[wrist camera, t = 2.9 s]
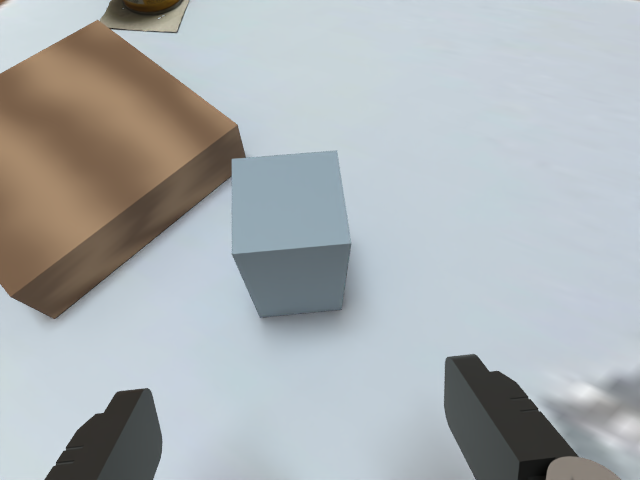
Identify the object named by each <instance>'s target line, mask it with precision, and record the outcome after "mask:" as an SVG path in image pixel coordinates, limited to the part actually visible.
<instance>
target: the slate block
mask: <svg viewBox="0 0 640 480" xmlns="http://www.w3.org/2000/svg"><path fill="white" fill-rule="evenodd" d="M350 248H351V239H350V233H349V226H348V220H347V213H346V207H345V200H344V194H343V187H342V180H341V174H340V167H339V161H338V154H337V151H325V152H312V153H300V154H287V155H274V156H262V157H249V158H237V159H232V255H233V258H234V260H235V262H236V265H237V267H238V269H239V271H240V274H241V276H242V278H243V280H244V283H245V285H246V287H247V289H248V292H249V294H250V296H251V298H252V301H253V303H254V305H255V307H256V310H257V312H258V314H259V316H260V318H261V317H272V316H282V315H292V314H302V313H312V312H322V311H333V310H341V308H342V302H343V295H344V288H345V281H346V275H347V268H348V261H349V254H350Z"/></svg>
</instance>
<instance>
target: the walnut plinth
mask: <svg viewBox="0 0 640 480" xmlns="http://www.w3.org/2000/svg"><path fill="white" fill-rule="evenodd" d="M237 158H246V156H245V152H244V148H243V145H242V141H241V137H240V133H239V129H238V125H237V124H236V123H235V122H233V121H232V120H231V119H229V118H228V117H227V116H225V115H224V114H223V113H221V112H220V111H219V110H217V109H216V108H215V107H213V106H212V105H211V104H209V103H208V102H207V101H205V100H204V99H203V98H201V97H200V96H199V95H197V94H196V93H195V92H193V91H192V90H191V89H189V88H188V87H187V86H185V85H184V84H183V83H181V82H180V81H179V80H177V79H176V78H175V77H173V76H172V75H171V74H169V73H168V72H167V71H165V70H164V69H163V68H161V67H160V66H159V65H157V64H156V63H155V62H153V61H152V60H151V59H149V58H148V57H147V56H145V55H144V54H143V53H141V52H140V51H139V50H137V49H136V48H135V47H133V46H132V45H131V44H129V43H128V42H127V41H125V40H124V39H123V38H121V37H120V36H119V35H117V34H116V33H115V32H113V31H112V30H111V29H109V28H108V27H107V26H105V25H104V24H103V23H101V22H100V21H99V20H96V21H95V22H93V23H91V24H89V25H87V26H86V27H84V28H82V29H80V30H78V31H77V32H75V33H73V34H71V35H69V36H68V37H66V38H64V39H62V40H60V41H59V42H57V43H55V44H53V45H51V46H49V47H48V48H46V49H44V50H42V51H40V52H39V53H37V54H35V55H33V56H31V57H30V58H28V59H26V60H24V61H22V62H21V63H19V64H17V65H15V66H13V67H11V68H10V69H8V70H6V71H4V72H2V73H1V74H0V284H1V285H2V287H3V288H4V289H5V291H6V292H7V293H8V294H9V296H10V297H12V298H14V299H16V300H18V301H20V302H22V303H24V304H26V305H28V306H30V307H32V308H34V309H36V310H38V311H40V312H42V313H44V314H46V315H48V316H50V317H52V318H54V319H55V318H56V317H58V316H59V315H60V314H61V313H63V312H64V311H65V310H66V309H68V308H69V307H70V306H71V305H72V304H74V303H75V302H76V301H77V300H79V299H80V298H81V297H82V296H84V295H85V294H86V293H87V292H89V291H90V290H91V289H92V288H93V287H95V286H96V285H97V284H98V283H100V282H101V281H102V280H103V279H105V278H106V277H107V276H108V275H110V274H111V273H112V272H113V271H114V270H116V269H117V268H118V267H119V266H121V265H122V264H123V263H124V262H126V261H127V260H128V259H129V258H131V257H132V256H133V255H134V254H135V253H137V252H138V251H139V250H140V249H142V248H143V247H144V246H145V245H147V244H148V243H149V242H150V241H152V240H153V239H154V238H155V237H156V236H158V235H159V234H160V233H161V232H163V231H164V230H165V229H166V228H168V227H169V226H170V225H171V224H173V223H174V222H175V221H176V220H177V219H179V218H180V217H181V216H182V215H184V214H185V213H186V212H187V211H189V210H190V209H191V208H192V207H193V206H195V205H196V204H197V203H198V202H200V201H201V200H202V199H203V198H205V197H206V196H207V195H208V194H210V193H211V192H212V191H213V190H214V189H216V188H217V187H218V186H219V185H221V184H222V183H223V182H224V181H226V180H227V179H228V178H229V177H231V176H232V159H237Z"/></svg>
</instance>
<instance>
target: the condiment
mask: <svg viewBox="0 0 640 480" xmlns="http://www.w3.org/2000/svg"><path fill="white" fill-rule="evenodd" d="M188 2H189V0H112V1H110V3H109V6H108V8H107V10H106V12H105V14H104V15H103V16H102V18H101V19H100V22H101V23H103V24H104V25H105V26H107V27H108V28H118V29H127V30H142V31H160V32H164V31H168V32H177V30H178V26H179V24H180V22H181V18H182V16H183V14H184V11H185V9H186V6H187V4H188ZM122 8H124V9H122ZM162 15H165V16H163V17H162ZM159 17H161V18H160V19H158V18H159Z"/></svg>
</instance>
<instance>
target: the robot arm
mask: <svg viewBox="0 0 640 480" xmlns="http://www.w3.org/2000/svg"><path fill="white" fill-rule="evenodd" d="M444 408H445V414H446V419H447V422H448V425H449V428H450V430H451V432H452V434H453V436H454V438H455V439H456V441H457V443H458V445H459V447H460V449H461V451H462V453H463V455H464V457H465V459H466V461H467V463H468V465H469V467H470V469H471V471H472V473H473V475H474V477H475V479H476V480H621V479H620V478H619V477H618V476H617V475H616V474H614V473H613V472H612V471H610V470H609V469H607V468H606V467H604V466H602V465H600V464H598V463H596V462H594V461H591V460H588V459H585V458H580V457H579V456H578V455H577V454H576V453H575V452H574V451H573V449H572V448H571V447H570V446H569V445H568V443H567V442H566V441H565V440H564V439H563V437H562V436H561V435H560V434H559V433H558V432H557V430H556V429H555V428H554V427H553V426H552V424H551V423H550V422H549V421H548V420H547V418H546V417H545V416H544V415H543V414H542V412H539V411H538V408H537V407H536V405H535V404H534V403H533V402H532V401H531V399H528V396H527V395H526V393H525V392H524V391H523V390H522V389H521V388H520V386H519V385H518V384H517V383H516V382H515V381H513V380H512V379H510V378H509V377H507V376H506V375H504V374H502V373H501V372H499V371H493V372H489V370H488V369H487V368H486V367H485V365H484V364H483V363H482V361H481V360H480V359H479V357H478V356H477V355H475V354H470V355H461V356H452V357H447V358H446V361H445V389H444ZM161 453H162V434H161V430H160V425H159V421H158V417H157V413H156V408H155V404H154V400H153V396H152V393H151V391H150V389H148V388H145V389H136V390H126V391H119V392H117V393H116V394H115V395H114V397H113V399H112V400H111V402H110V403H109V405H108V407H107V408H106V410H105V412H104V413H100V414H95V415H94V416H93V417H92V418H91V419H89V420H88V421H87V422H86V423H85V424H84V425H83V426H81V427H80V428H79V429H78V430H77V431H76V433H75V434H74V436H73V437H72V439H71V441H70V442H69V444H68V445H67V447H66V451H63V453H62V454H61V456H60V457H59V459H58V460H57V462H56V466H53V468H52V469H51V471H50V472H49V474H48V475H47V477H46V478H45V480H153V478H154V475H155V472H156V470H157V467H158V464H159V461H160V458H161Z"/></svg>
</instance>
